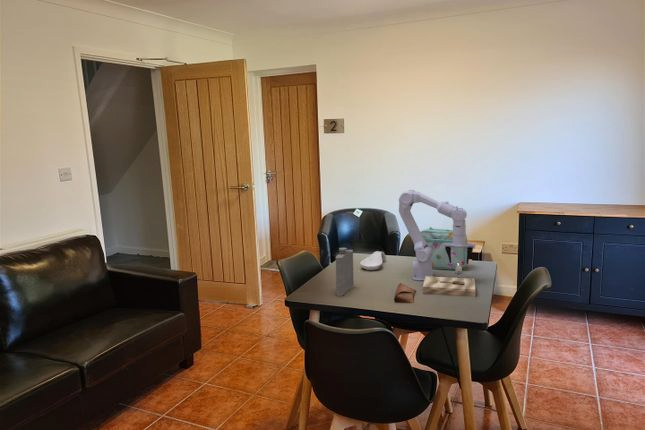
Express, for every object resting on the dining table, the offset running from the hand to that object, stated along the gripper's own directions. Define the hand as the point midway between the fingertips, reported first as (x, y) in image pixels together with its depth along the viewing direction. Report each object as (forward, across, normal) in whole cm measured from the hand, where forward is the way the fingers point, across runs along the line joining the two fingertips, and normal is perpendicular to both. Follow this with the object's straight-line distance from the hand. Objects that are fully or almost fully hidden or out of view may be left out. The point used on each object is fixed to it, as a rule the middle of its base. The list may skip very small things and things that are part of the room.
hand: (458, 262), depth 214 cm
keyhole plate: (+9, -4, -12) cm, 16 cm away
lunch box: (+10, -9, +24) cm, 28 cm away
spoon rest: (+10, -44, +21) cm, 50 cm away
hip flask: (+10, -50, -23) cm, 56 cm away
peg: (+9, 0, 0) cm, 9 cm away
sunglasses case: (+10, -22, -25) cm, 35 cm away
